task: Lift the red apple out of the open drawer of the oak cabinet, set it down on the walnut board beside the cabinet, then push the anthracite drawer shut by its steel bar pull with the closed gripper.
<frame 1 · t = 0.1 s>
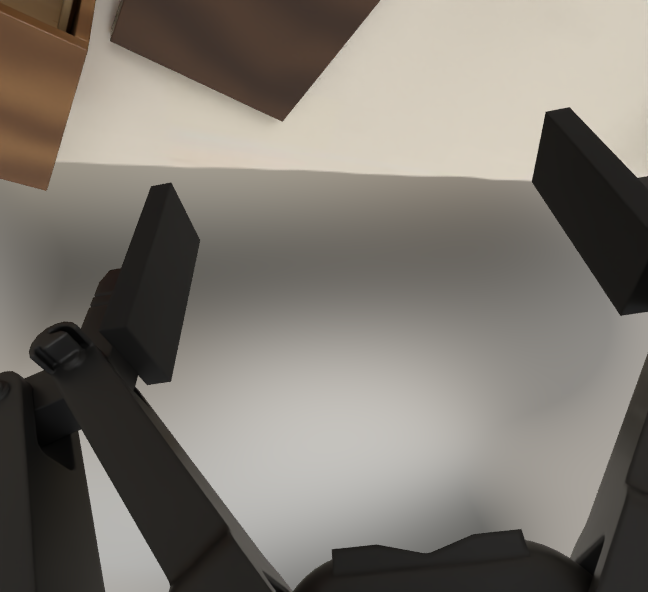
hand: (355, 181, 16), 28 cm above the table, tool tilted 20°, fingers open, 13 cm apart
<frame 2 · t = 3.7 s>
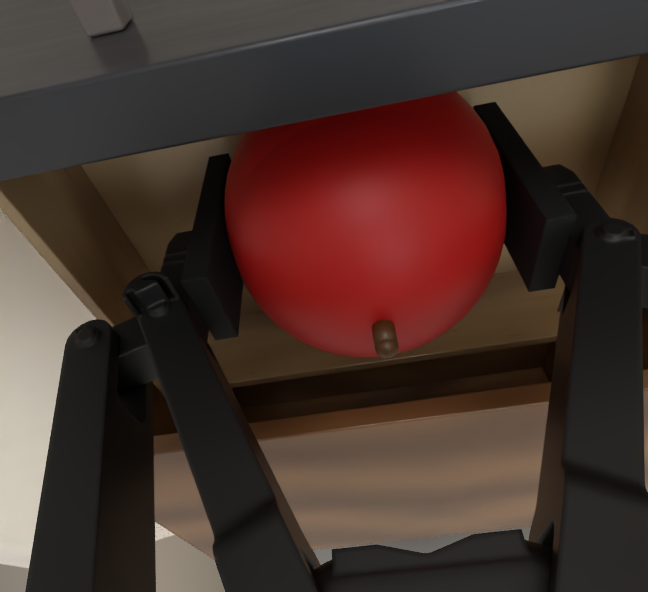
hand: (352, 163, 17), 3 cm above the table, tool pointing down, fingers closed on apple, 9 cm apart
drawer: (359, 196, 15), point 6 cm above the table, slide at 11.0 cm, touching apple
cabinet: (374, 322, 29), on the table
apple: (349, 143, 18), point 2 cm above the table, touching drawer, gripper
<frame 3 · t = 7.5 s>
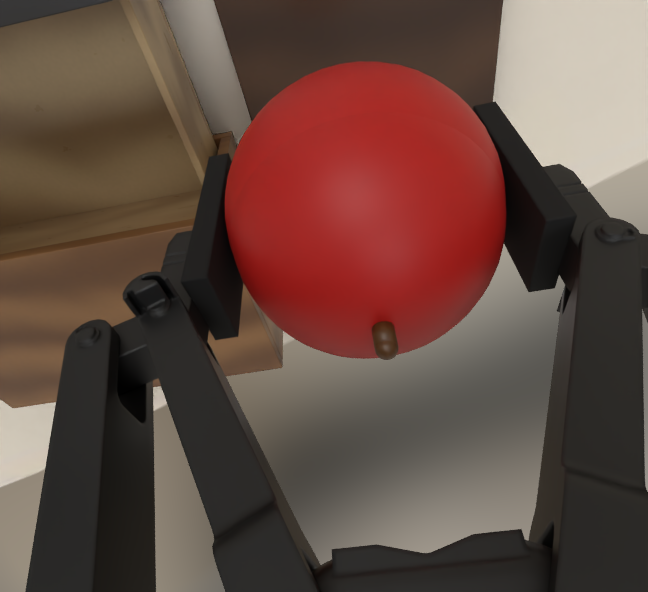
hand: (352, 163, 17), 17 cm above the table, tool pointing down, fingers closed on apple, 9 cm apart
cabinet: (128, 239, 41), on the table
apple: (349, 144, 18), point 16 cm above the table, touching gripper
board: (359, 10, 28), on the table
when the fingers open (3 cm above the table, at t = 11.2 s): apple stays where it is, resting on board.
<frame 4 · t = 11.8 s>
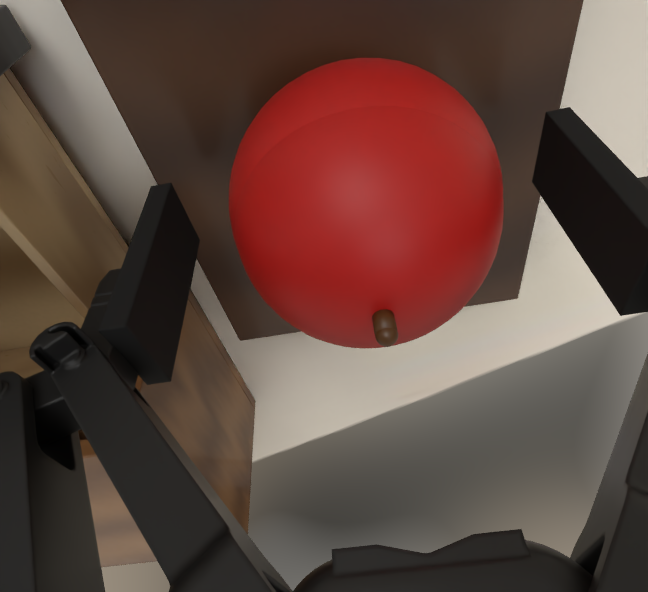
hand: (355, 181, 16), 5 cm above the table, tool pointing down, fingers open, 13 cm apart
cabinet: (53, 369, 32), on the table
apple: (350, 140, 18), point 2 cm above the table, touching board
board: (345, 121, 19), on the table
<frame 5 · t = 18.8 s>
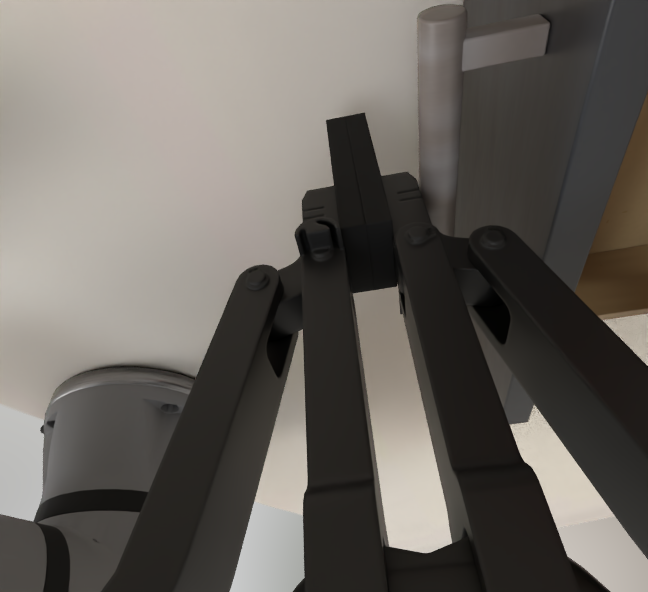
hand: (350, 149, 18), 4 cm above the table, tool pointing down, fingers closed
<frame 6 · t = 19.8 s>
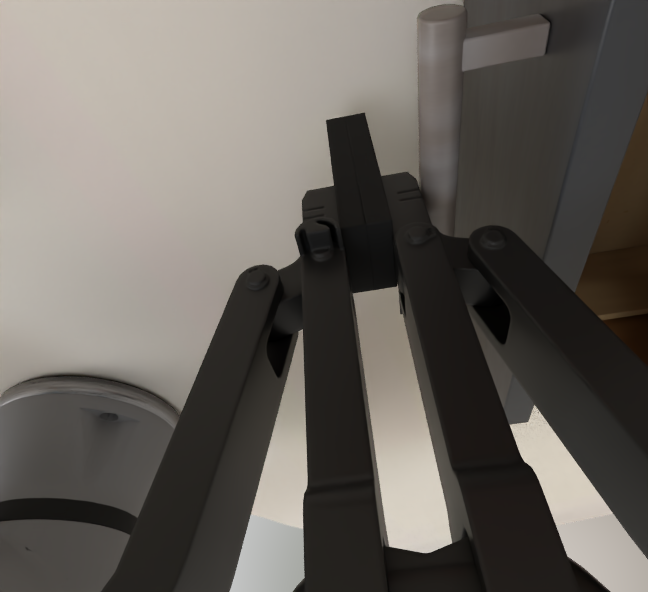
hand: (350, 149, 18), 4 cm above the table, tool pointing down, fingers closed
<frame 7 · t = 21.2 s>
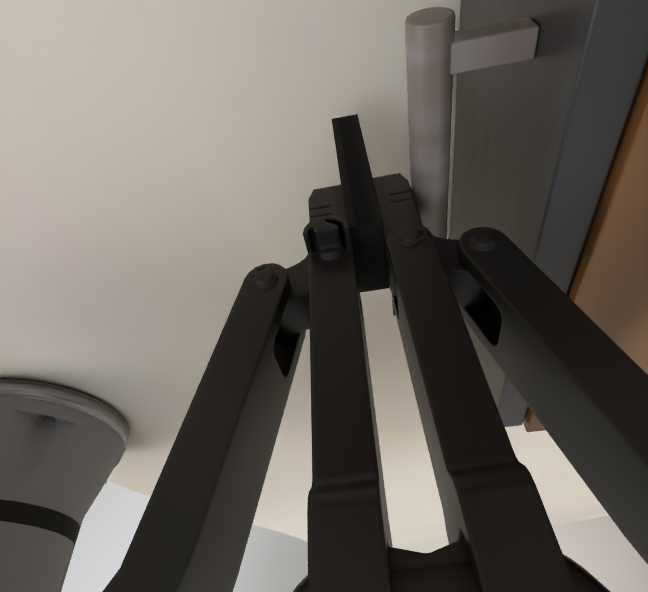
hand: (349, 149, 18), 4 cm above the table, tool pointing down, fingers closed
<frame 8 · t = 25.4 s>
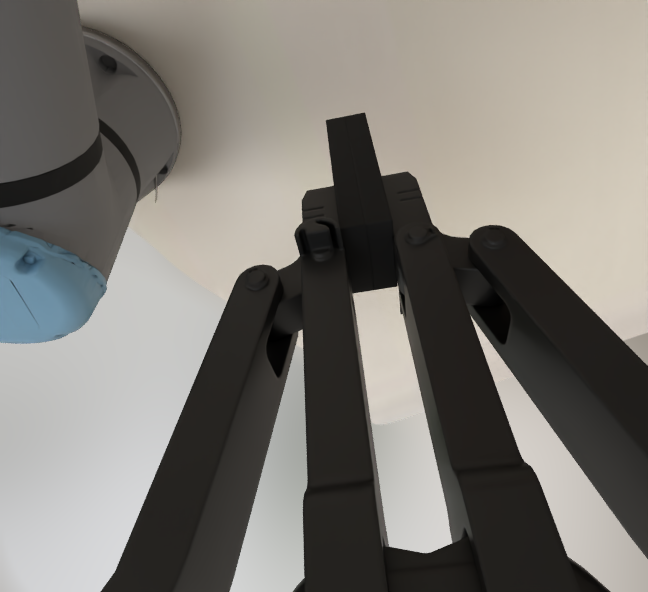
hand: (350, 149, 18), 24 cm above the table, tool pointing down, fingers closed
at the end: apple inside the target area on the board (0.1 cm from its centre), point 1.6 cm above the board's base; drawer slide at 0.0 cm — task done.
